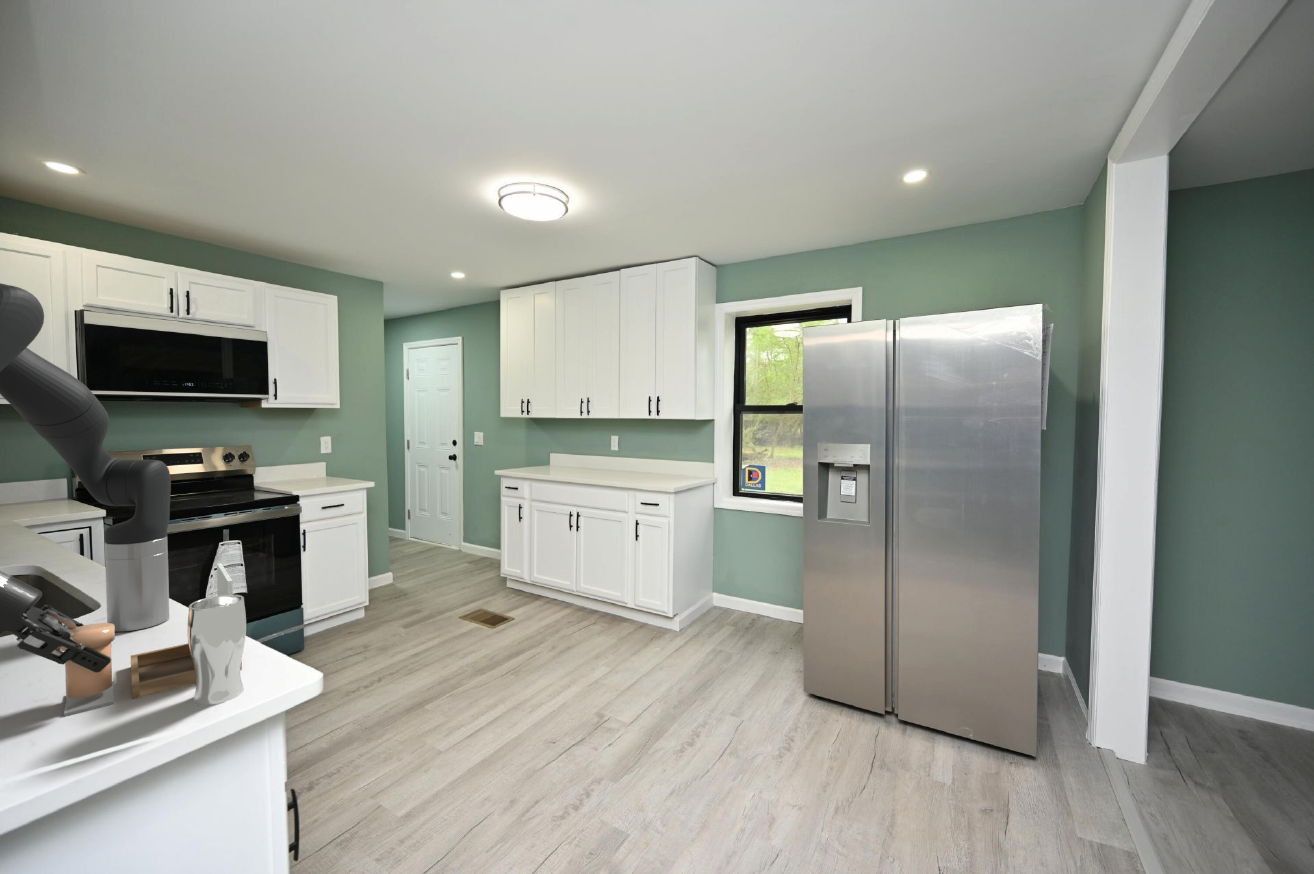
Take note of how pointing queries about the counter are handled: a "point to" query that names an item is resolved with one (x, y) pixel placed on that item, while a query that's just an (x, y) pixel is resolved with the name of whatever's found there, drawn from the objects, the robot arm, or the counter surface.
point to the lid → (223, 581)
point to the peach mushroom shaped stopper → (81, 678)
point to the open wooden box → (162, 670)
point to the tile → (89, 702)
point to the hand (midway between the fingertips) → (105, 658)
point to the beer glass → (217, 647)
